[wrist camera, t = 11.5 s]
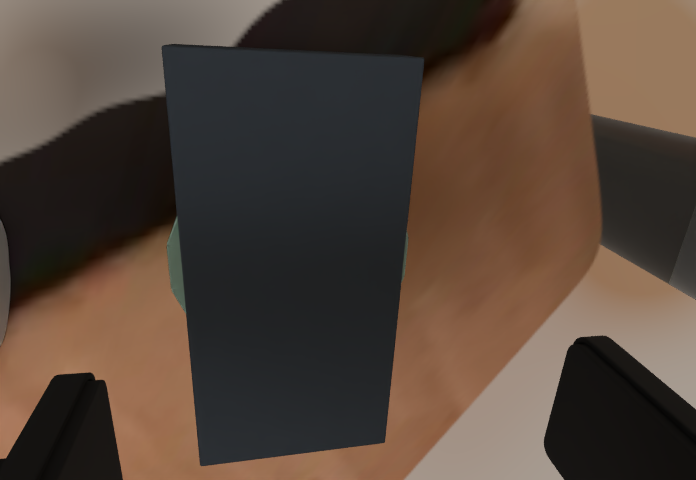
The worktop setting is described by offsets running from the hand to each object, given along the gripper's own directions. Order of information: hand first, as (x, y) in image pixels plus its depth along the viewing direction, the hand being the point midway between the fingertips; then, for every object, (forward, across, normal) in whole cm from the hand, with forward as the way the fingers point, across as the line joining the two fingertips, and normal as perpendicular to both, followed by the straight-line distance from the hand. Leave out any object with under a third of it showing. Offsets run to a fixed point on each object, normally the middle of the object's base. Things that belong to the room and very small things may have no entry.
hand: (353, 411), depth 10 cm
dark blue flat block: (+7, +1, 0) cm, 7 cm away
